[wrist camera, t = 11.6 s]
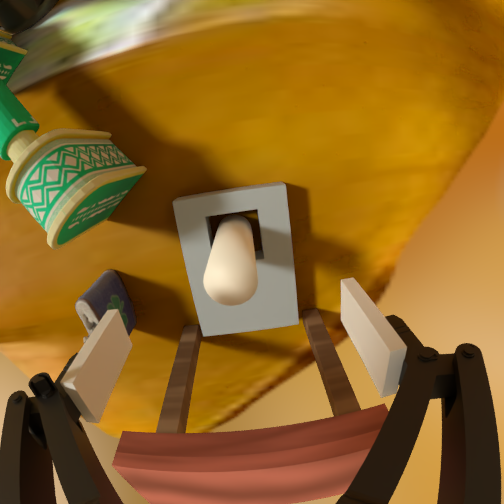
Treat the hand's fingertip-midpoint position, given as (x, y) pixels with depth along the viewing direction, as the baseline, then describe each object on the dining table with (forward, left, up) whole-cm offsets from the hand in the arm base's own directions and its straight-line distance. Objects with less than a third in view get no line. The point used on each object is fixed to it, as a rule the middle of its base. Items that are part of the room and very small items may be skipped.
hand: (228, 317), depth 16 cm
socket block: (+4, 0, -19) cm, 20 cm away
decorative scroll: (-21, -23, -20) cm, 37 cm away
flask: (+7, -17, -20) cm, 27 cm away
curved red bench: (+11, 0, -19) cm, 22 cm away
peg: (0, 0, -20) cm, 20 cm away
